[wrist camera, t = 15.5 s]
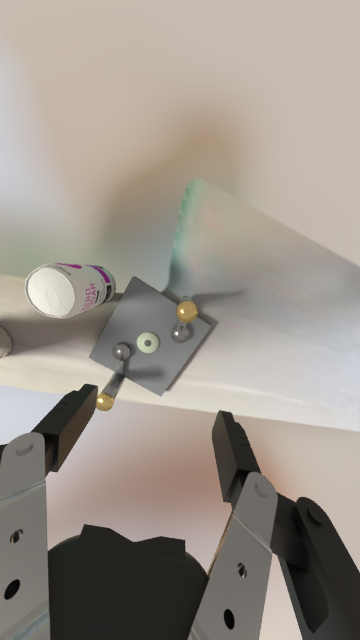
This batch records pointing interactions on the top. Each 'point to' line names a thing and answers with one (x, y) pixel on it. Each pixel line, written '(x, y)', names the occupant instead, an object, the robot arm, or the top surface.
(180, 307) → the crank
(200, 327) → the board
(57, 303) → the supplement can
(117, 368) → the crank
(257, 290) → the top surface
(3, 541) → the robot arm
